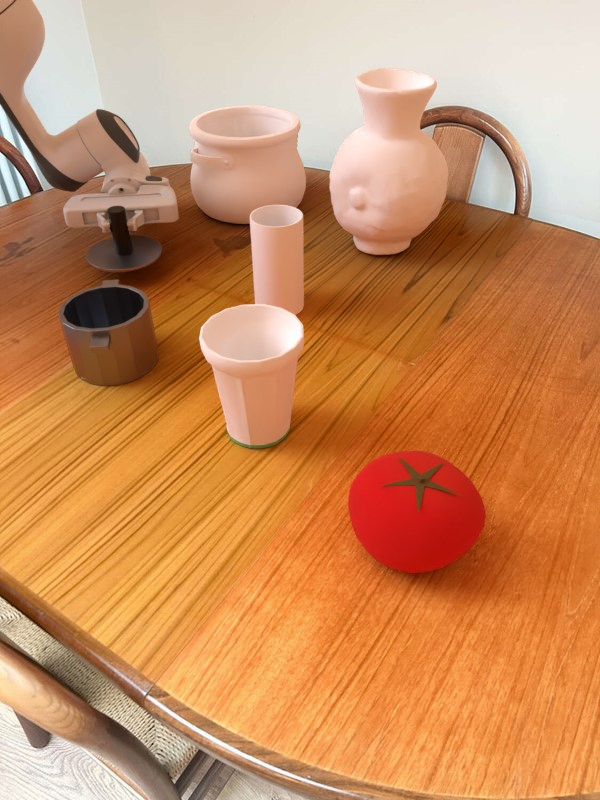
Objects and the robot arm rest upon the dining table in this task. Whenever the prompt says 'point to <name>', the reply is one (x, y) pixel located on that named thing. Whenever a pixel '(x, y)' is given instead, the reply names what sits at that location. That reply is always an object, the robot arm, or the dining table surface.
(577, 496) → the dining table surface
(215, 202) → the pot
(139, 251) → the lid
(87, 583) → the dining table surface
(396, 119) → the vase
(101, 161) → the robot arm
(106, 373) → the cooker
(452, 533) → the tomato
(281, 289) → the cup
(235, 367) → the cup
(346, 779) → the dining table surface
